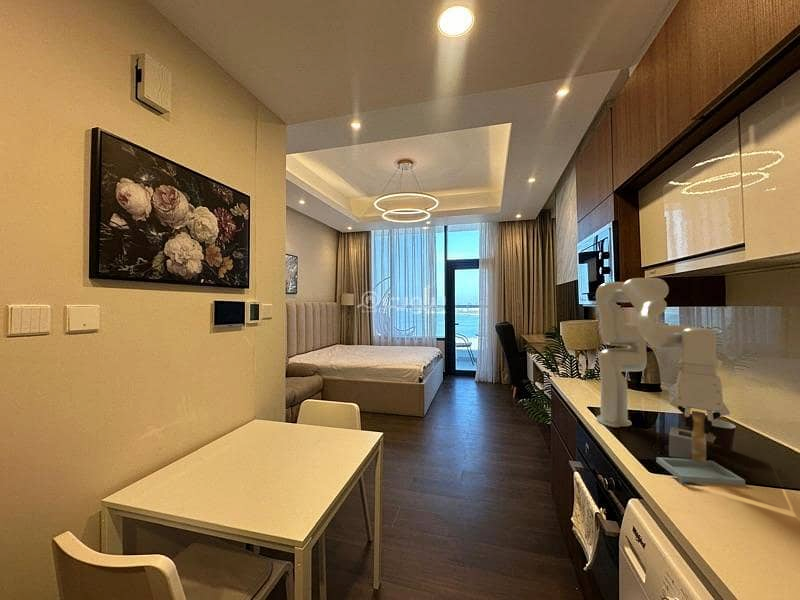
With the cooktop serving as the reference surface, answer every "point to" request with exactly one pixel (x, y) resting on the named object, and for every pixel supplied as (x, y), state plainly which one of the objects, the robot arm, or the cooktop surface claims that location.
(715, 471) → the slate tray
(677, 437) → the grey notched box
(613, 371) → the robot arm
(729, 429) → the coffee mug
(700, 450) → the brown upright block
